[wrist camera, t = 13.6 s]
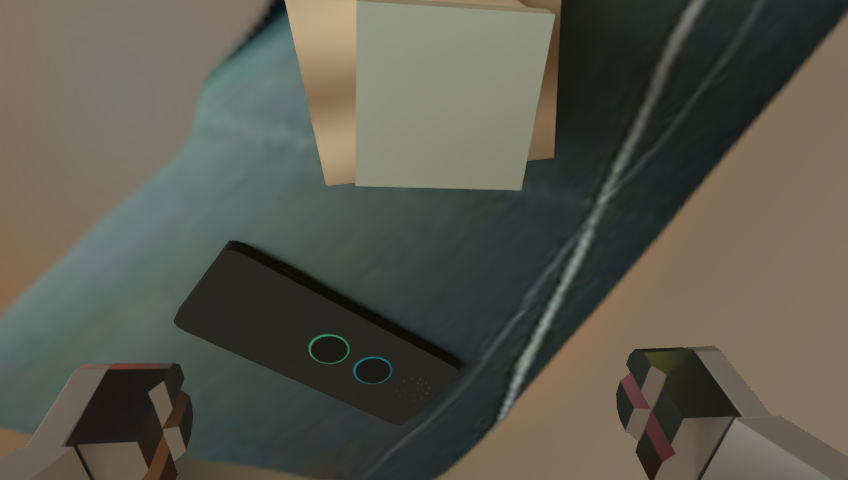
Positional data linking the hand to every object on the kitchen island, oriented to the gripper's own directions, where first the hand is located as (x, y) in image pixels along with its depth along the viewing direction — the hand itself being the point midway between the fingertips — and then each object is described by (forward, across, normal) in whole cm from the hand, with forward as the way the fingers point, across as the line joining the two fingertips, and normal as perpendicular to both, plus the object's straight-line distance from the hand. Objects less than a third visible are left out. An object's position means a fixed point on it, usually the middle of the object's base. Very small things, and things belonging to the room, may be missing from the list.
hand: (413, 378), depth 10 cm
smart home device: (+23, +4, +20) cm, 31 cm away
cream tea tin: (+18, -2, -2) cm, 18 cm away
